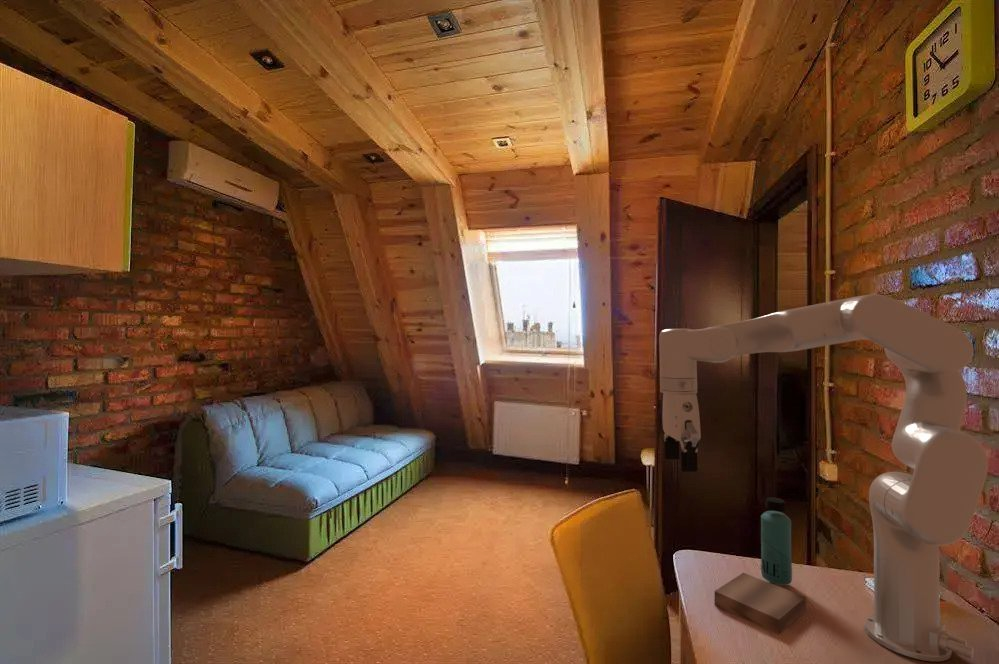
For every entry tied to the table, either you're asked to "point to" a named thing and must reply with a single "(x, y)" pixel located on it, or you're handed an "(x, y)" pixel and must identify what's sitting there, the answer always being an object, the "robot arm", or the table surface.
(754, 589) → the walnut plinth
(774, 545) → the beverage bottle
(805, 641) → the table surface
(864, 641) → the table surface
